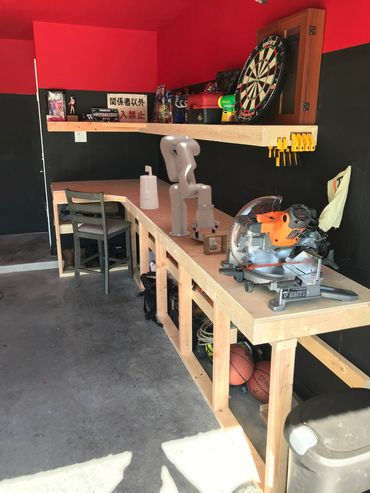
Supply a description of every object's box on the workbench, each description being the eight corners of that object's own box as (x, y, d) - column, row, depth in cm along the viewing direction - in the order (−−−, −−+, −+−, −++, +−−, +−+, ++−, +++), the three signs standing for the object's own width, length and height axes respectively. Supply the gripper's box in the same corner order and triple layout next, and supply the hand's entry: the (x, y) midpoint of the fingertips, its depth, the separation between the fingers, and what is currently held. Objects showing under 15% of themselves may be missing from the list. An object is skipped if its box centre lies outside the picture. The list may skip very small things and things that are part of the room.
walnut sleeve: (203, 252, 228) (203, 234, 225) (224, 250, 231) (224, 232, 228) (205, 254, 224) (205, 236, 221) (226, 252, 227) (227, 234, 224)
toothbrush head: (198, 232, 255) (218, 236, 233) (199, 242, 256) (219, 248, 234) (190, 233, 253) (210, 237, 231) (191, 244, 254) (210, 249, 232)
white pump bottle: (136, 207, 350) (134, 166, 340) (152, 204, 358) (150, 164, 349) (146, 210, 338) (144, 167, 328) (162, 207, 346) (161, 166, 337)
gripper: (216, 205, 244) (217, 234, 248) (187, 207, 239) (188, 237, 244) (221, 207, 237) (221, 237, 241) (191, 209, 232) (192, 240, 237)
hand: (205, 237), depth 242 cm, fingers open, 9 cm apart
